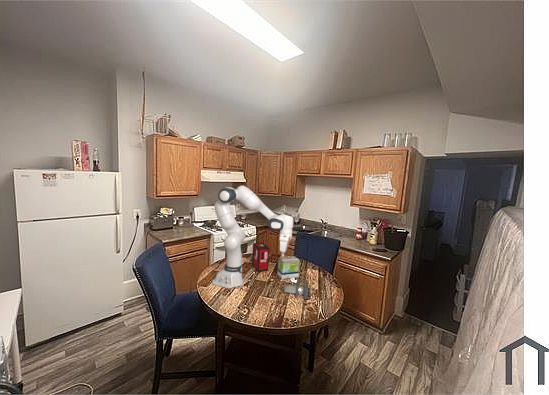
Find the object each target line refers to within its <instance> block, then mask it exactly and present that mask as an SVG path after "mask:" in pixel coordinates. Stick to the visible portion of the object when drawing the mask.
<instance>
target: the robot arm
mask: <svg viewBox="0 0 549 395" xmlns="http://www.w3.org/2000/svg"><path fill="white" fill-rule="evenodd" d="M217 196H218V197H217V198H218V201H216V202H215V203H214V204H213V205H214V211H215V214H216V217H217V219H218V223H219V224H220V226H221V228H222V229H223V230H224V231H225V232H226V234H227V236H225V238H224V241H223V244H224V247H225V251H226V262H225V263H224V264H223V268H222V269H220V270H219V271H218V272H217V274H216V276H215V277H214V278H213V280H212V283H211V284H212V285H215V286H217V287H218V286H219V287H221V288H222V287H223V288H226V289H232V288H236V287H240V286H242V285H243V284H244V280H243V273H242V272H243V264H242V263H243V252H242V248H241V245H242V244H243V242H244V241H245V238H246V233H245V231H244V230H243V229H242V228H241V227H240V225H239V223H238V222H237V220H236V217H235V215H234V214H233V211H232V209H231V205H230V204H232V203H233V202H235V200H238V201H239V202H240V203H241V204H242V205H244V206H245V207H246V208H247V209H249V210H250V211H251V210H253V211H258V212H259V213H261V214H262V215H263V216H264V217H265V218H266V219H268V221H267V227H268V228H269V230H271V231H274V232H275V231H279V240H278V241H279V252H281V257H285V253H287V250H288V246H289V244H290V241H291V240H292V237H293V228H294V217H293V215H292V214H291V213H287V212H283V213H282V214H278V213H276V212H273V211H272V210H271V209H270V208H269V207H268V206H267V205H266V204H264V203H263V201H262V200H261V199H260V197H258V195H257V194H255V193H254V192H253V191H252V189H250V188H248V187H247V186H245V185H243V184H242V185H240V186H238V187H236V188H235V187H232V186H226V187H224V188H221V189H220V190H219V191H218V195H217Z"/></svg>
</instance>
